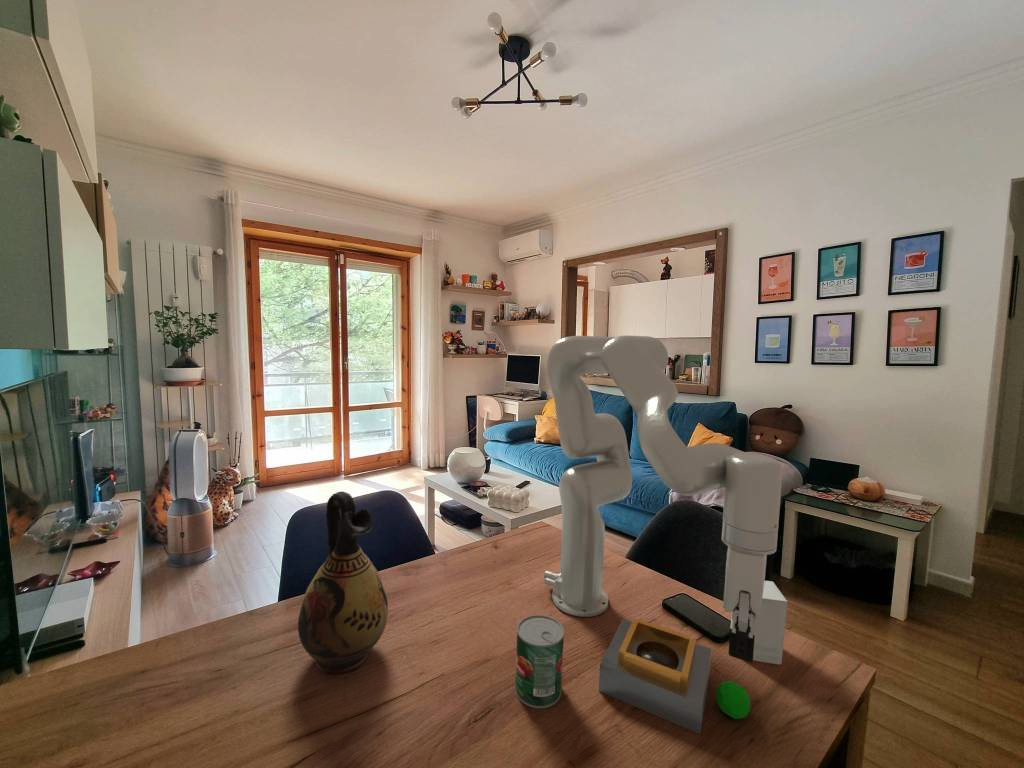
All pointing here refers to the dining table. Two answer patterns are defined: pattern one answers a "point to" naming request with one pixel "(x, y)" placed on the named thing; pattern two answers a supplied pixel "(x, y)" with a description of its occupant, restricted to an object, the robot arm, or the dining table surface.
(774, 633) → the supplement box
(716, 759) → the dining table surface
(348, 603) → the ceramic jug
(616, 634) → the grey yellow socket base
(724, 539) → the robot arm
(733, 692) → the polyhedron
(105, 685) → the dining table surface
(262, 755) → the dining table surface
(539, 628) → the canned tomato
